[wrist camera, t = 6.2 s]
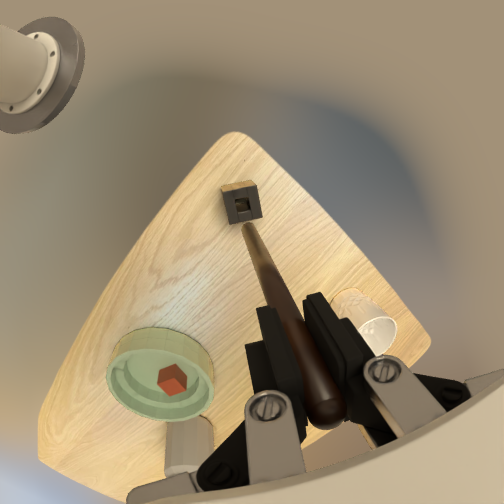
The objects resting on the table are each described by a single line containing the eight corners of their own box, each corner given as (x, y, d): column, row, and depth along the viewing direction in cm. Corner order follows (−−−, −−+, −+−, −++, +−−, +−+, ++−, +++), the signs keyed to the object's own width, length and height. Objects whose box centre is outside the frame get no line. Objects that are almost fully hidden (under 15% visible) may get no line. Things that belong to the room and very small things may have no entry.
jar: (173, 406, 51) (169, 483, 34) (219, 417, 53) (226, 491, 37) (162, 429, 53) (158, 498, 37) (204, 439, 56) (207, 506, 39)
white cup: (317, 303, 46) (340, 340, 36) (358, 275, 45) (388, 306, 36) (337, 332, 49) (360, 369, 39) (374, 306, 48) (402, 339, 39)
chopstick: (242, 235, 26) (314, 441, 7) (239, 222, 25) (311, 421, 7) (255, 232, 26) (352, 428, 7) (252, 219, 25) (353, 407, 7)
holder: (227, 215, 39) (229, 225, 34) (221, 186, 37) (222, 192, 33) (256, 208, 39) (263, 217, 35) (251, 179, 38) (256, 184, 33)
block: (170, 382, 48) (169, 396, 44) (159, 369, 46) (156, 384, 43) (187, 376, 47) (186, 390, 44) (175, 363, 46) (174, 377, 43)
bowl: (138, 402, 50) (134, 424, 44) (98, 333, 43) (87, 356, 37) (223, 390, 50) (225, 414, 45) (195, 316, 44) (194, 340, 38)
